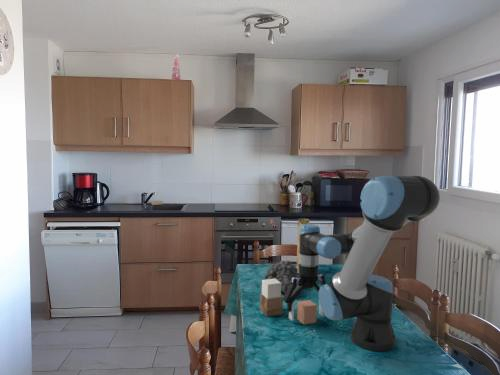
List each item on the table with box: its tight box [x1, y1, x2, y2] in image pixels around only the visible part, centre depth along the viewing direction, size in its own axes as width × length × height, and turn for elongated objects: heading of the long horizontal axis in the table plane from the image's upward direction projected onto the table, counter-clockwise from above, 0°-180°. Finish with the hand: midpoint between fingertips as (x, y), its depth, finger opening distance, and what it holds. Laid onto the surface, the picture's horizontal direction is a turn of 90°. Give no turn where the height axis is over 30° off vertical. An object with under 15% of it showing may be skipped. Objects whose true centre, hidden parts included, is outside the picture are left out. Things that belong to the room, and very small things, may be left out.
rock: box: [264, 260, 299, 295], centre depth 182 cm, size 22×16×15 cm
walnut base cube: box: [259, 292, 284, 317], centre depth 156 cm, size 7×7×7 cm
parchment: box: [296, 218, 310, 273], centre depth 202 cm, size 23×6×30 cm, turn 177°
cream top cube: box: [261, 278, 282, 299], centre depth 155 cm, size 6×6×6 cm
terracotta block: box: [296, 299, 318, 325], centre depth 148 cm, size 6×6×7 cm
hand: (306, 316), depth 148 cm, fingers open, 13 cm apart
